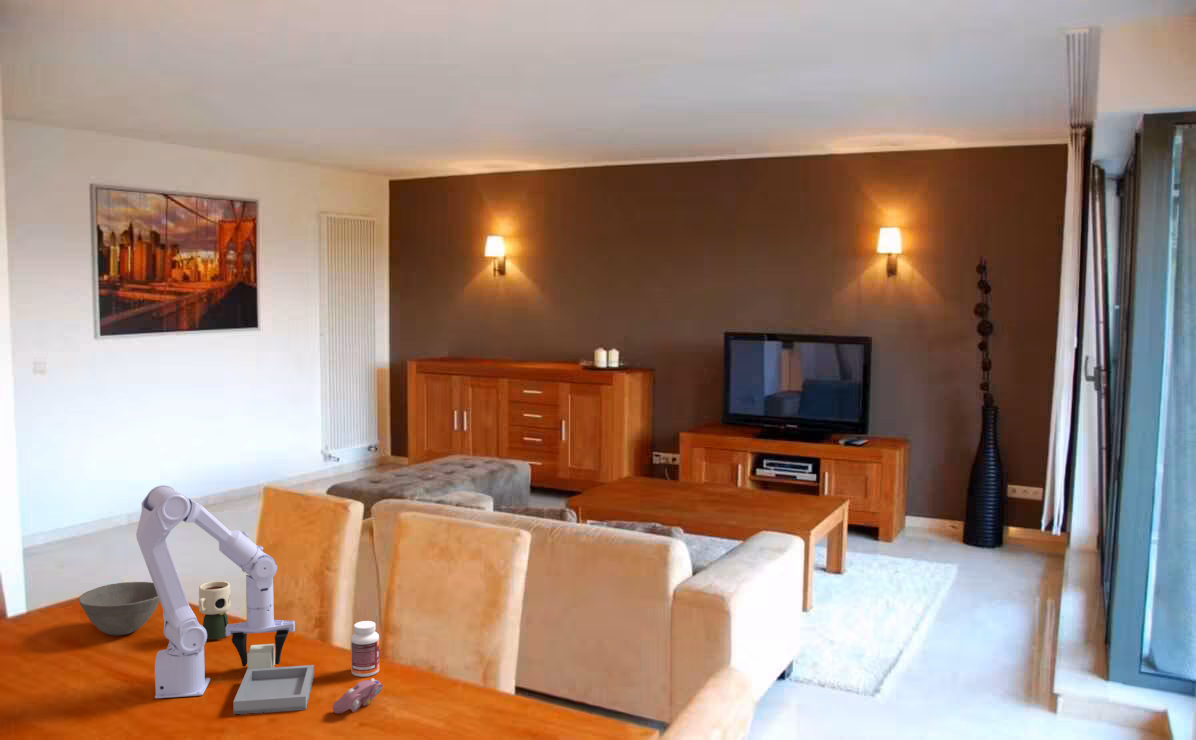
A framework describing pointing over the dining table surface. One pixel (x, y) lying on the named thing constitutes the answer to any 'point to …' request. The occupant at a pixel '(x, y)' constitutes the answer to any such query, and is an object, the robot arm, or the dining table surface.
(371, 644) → the pill bottle
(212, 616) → the character mug
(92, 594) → the bowl
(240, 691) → the tray
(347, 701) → the video game controller
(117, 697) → the dining table surface
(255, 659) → the block
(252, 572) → the robot arm
